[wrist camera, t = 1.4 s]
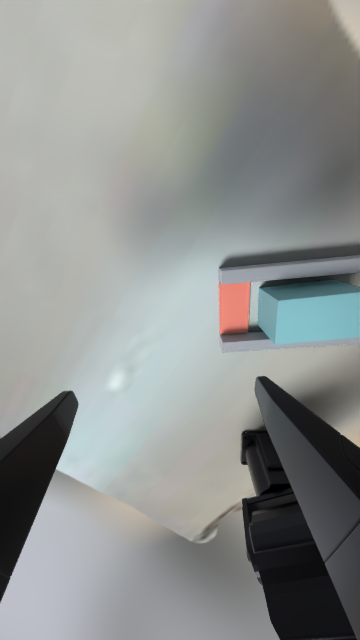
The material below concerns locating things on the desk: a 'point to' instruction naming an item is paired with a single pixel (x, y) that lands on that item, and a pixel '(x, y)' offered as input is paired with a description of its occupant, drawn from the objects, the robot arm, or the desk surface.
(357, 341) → the channel
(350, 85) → the desk surface
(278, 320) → the teal block
